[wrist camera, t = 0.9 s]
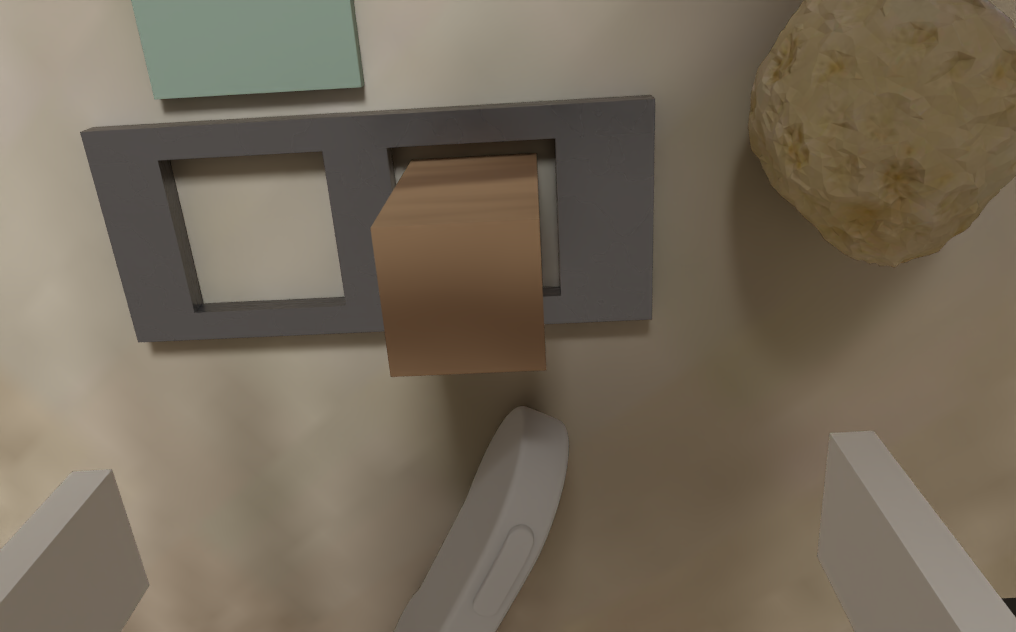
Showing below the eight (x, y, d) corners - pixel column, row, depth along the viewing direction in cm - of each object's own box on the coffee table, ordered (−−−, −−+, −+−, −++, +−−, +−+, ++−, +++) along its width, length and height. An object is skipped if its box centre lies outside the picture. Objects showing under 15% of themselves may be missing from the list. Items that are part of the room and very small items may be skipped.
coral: (1229, 65, 23) (1030, 328, 22) (939, 99, 32) (792, 284, 32) (1080, -215, 20) (840, 83, 19) (806, -86, 29) (638, 116, 28)
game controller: (415, 673, 43) (392, 824, 36) (376, 660, 43) (344, 809, 35) (570, 390, 36) (582, 504, 28) (524, 372, 36) (524, 482, 28)
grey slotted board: (93, 127, 31) (80, 131, 30) (651, 94, 30) (655, 99, 29) (148, 332, 35) (138, 342, 34) (648, 309, 34) (651, 319, 33)
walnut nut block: (411, 159, 32) (370, 227, 23) (536, 152, 31) (539, 219, 23) (424, 276, 34) (390, 376, 25) (541, 270, 33) (546, 370, 25)
